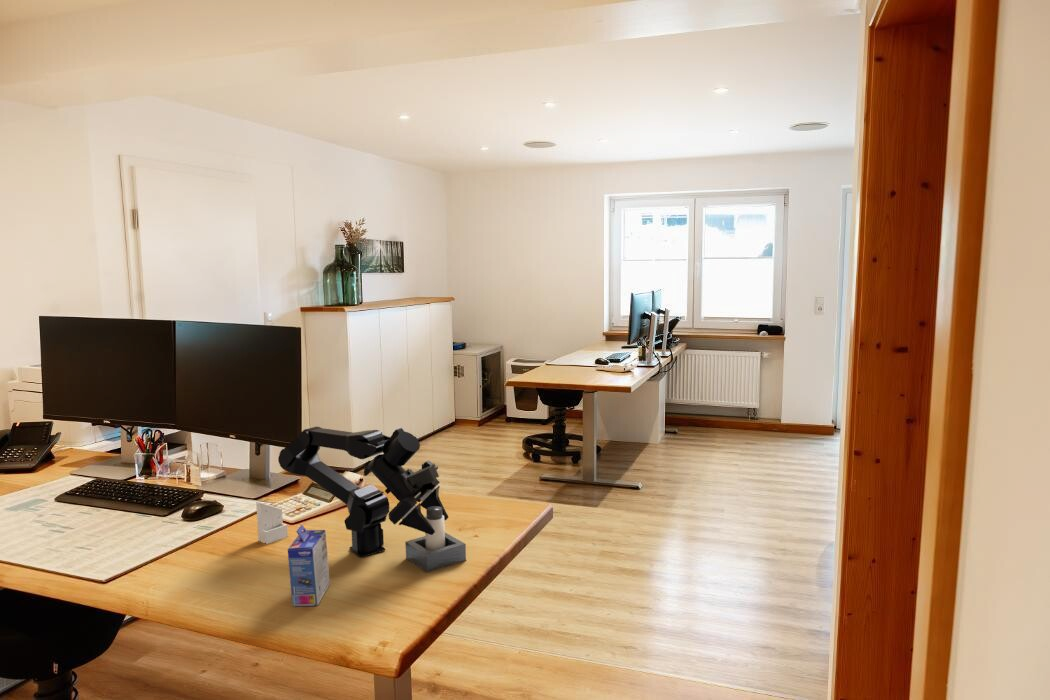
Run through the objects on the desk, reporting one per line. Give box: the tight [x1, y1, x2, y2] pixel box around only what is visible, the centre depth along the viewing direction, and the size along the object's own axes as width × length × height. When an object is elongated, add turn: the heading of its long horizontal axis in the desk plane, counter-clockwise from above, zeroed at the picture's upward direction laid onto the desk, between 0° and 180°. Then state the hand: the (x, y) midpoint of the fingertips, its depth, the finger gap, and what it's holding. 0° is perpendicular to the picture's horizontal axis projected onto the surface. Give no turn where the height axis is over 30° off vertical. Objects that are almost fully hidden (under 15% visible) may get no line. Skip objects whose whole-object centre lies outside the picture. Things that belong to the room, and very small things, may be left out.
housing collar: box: [405, 532, 467, 573], centre depth 158 cm, size 10×10×4 cm
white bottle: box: [424, 506, 446, 551], centre depth 158 cm, size 4×4×12 cm
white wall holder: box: [255, 501, 289, 545], centre depth 171 cm, size 4×10×9 cm, turn 143°
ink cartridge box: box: [287, 524, 330, 607], centre depth 141 cm, size 10×6×14 cm, turn 2°
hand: (440, 526), depth 157 cm, fingers open, 9 cm apart
